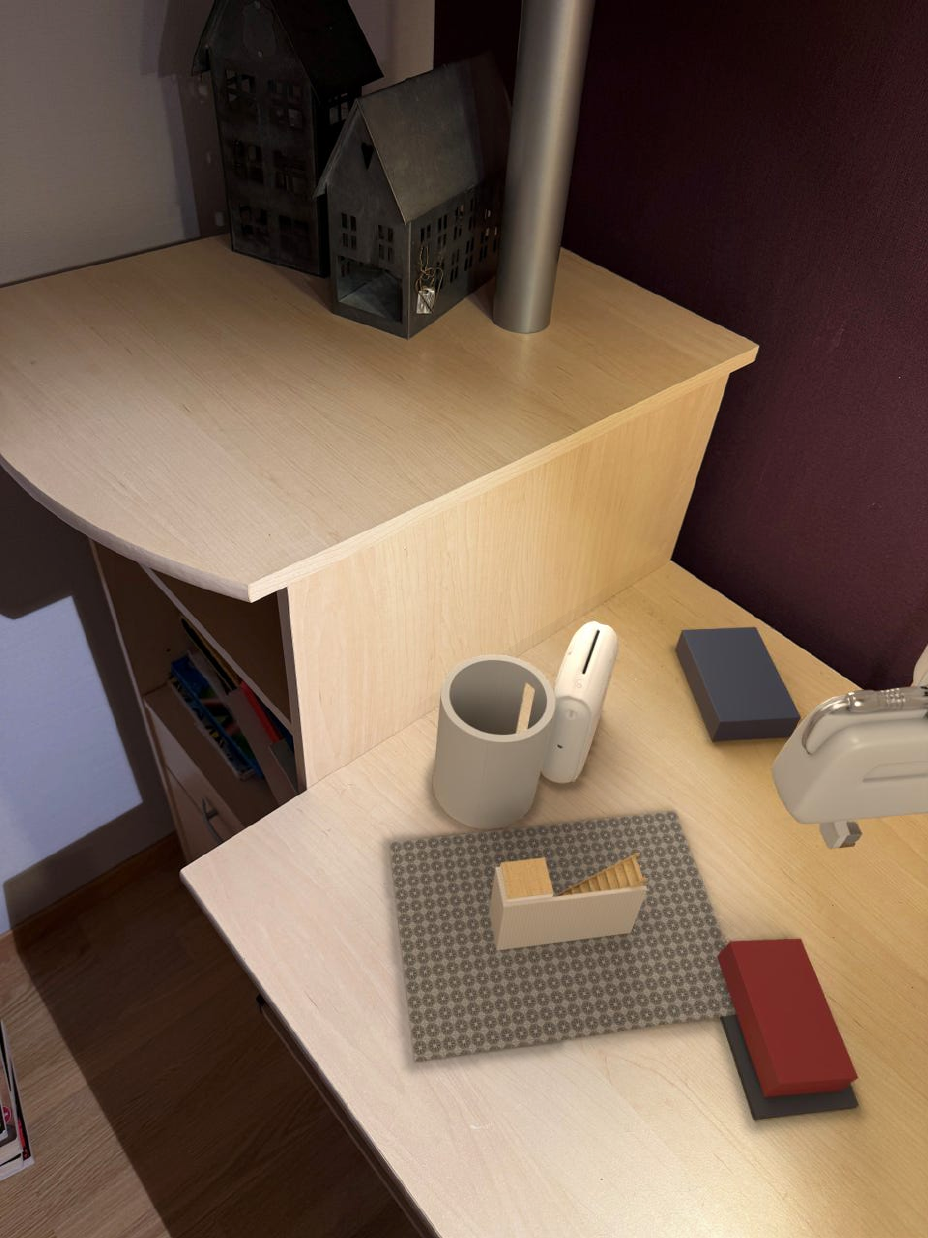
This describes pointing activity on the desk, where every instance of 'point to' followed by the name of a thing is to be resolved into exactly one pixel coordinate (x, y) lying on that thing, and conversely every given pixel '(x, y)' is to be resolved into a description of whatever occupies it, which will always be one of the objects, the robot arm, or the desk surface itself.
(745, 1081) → the felt pad
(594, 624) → the photo printer
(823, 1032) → the burgundy notebook
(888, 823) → the desk surface
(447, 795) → the cup
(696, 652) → the navy hardback
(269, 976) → the desk surface
